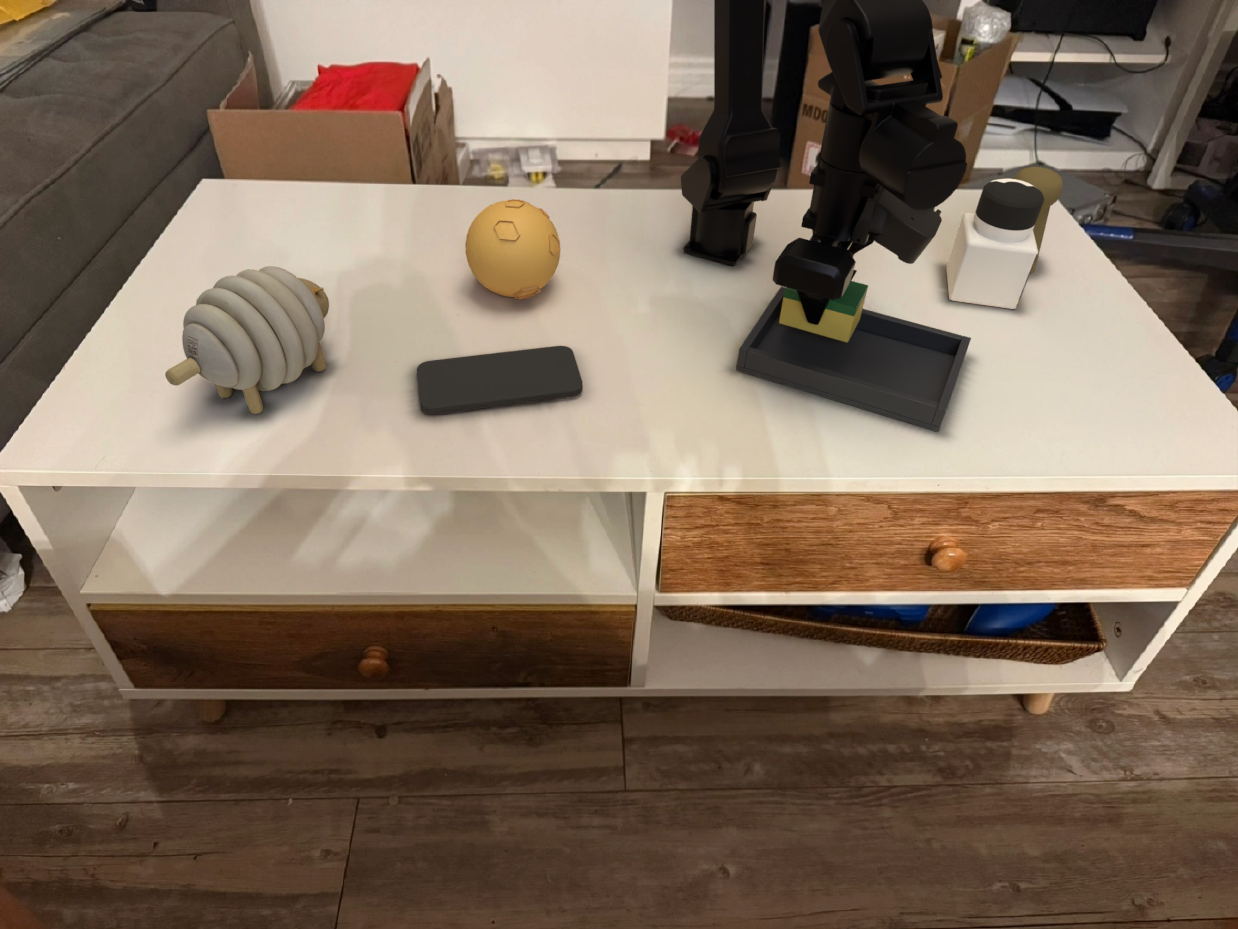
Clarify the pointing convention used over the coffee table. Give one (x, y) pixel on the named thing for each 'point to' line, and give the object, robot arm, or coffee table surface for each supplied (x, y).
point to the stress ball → (513, 248)
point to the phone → (498, 379)
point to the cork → (1051, 191)
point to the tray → (861, 364)
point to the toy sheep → (253, 333)
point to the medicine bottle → (996, 245)
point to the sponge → (827, 313)
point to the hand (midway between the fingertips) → (820, 311)
